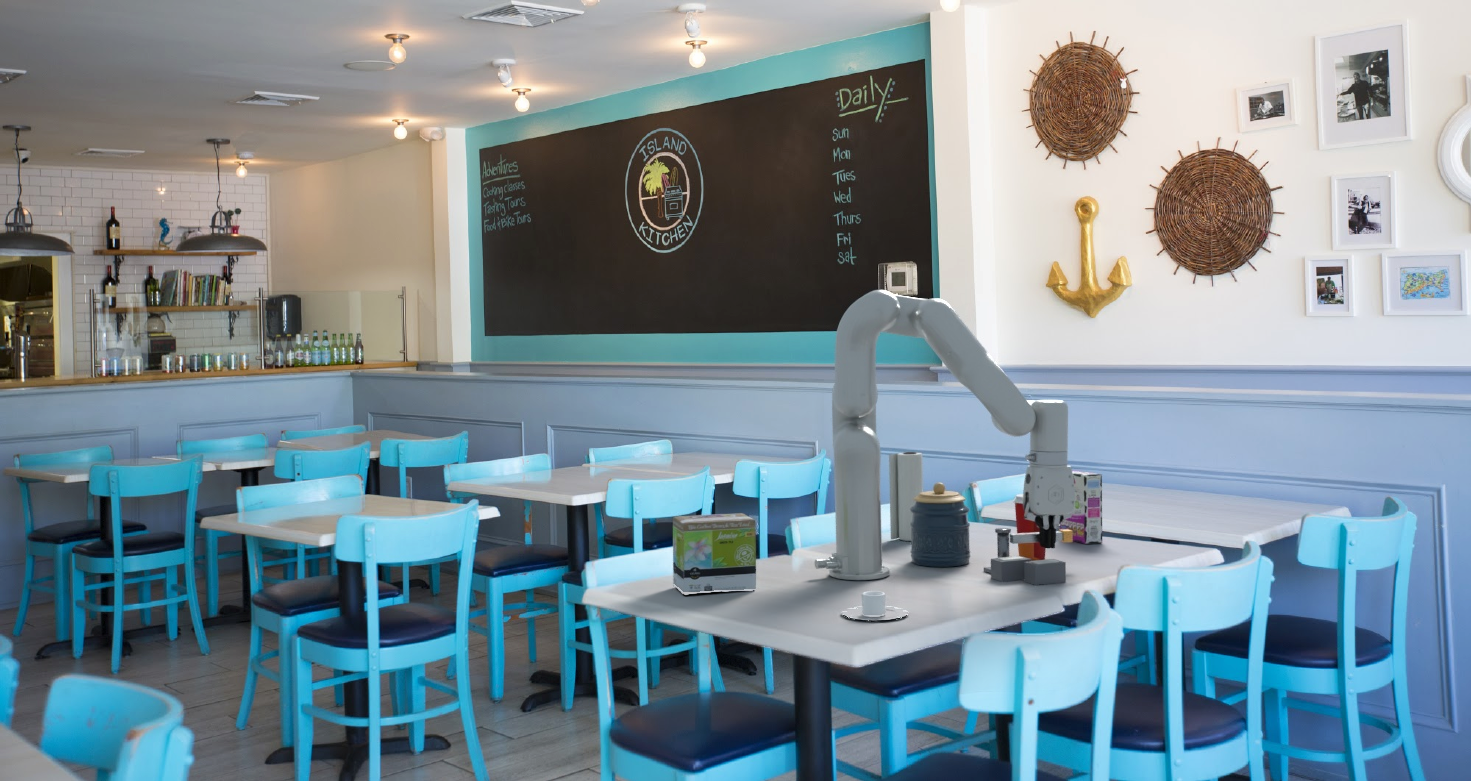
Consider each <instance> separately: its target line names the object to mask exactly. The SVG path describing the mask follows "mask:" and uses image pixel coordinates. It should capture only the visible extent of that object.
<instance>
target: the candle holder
mask: <svg viewBox="0 0 1471 781" xmlns="http://www.w3.org/2000/svg"><path fill="white" fill-rule="evenodd" d="M853 607H854V608H852V607H849V608H847V609H856V608H857V607H862V611H861V614H862V613H863V614H864V615H882V614H885V613H886V614H887V612H886V611H887V610H886V607H894V608H895V609H903V607H902V608H901V607H897V606H890V605H886V593H885V592H884V591H879V590H868V591H863V592H862V594H861V605H859V606H853ZM857 609H858V608H857ZM842 612H847V611H843V610H842V611H841V613H842ZM903 612H908V613H909V611H908V610H906V609H905V610H903ZM841 615H842V616H843V615H844V614H841ZM905 615H907V616H909V614H905ZM847 617H848V616H847ZM847 617H846V618H847ZM897 617H898V616H897ZM850 618H853V617H850ZM850 618H849V617H848V618H847V619H850ZM898 618H900V617H898ZM900 619H903V618H902V617H901V618H900ZM867 622H870V621H869V620H868V621H867Z"/></svg>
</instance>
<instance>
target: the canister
mask: <svg viewBox="0 0 1471 781" xmlns="http://www.w3.org/2000/svg"><path fill="white" fill-rule="evenodd" d="M914 501H916V503H915V505H914V506H913V507H911V508H910V511H911V512H912V522H911V523H910V526H911V541H910V547H911V549H910V557H911V563H913V564H914V565H917V566H923V567H931V568H949V567H959V566H964V565H965V566H966V565H967V564H969V563H970V560H971V559H970V558H971V548H970V526H971V524H970V522H969V520H968V513H969V512H970V510H971V509H970V507H968V506H967V505H966V504H965V503H964V502H965V501H966V497H965V496H963V495H962V494H960V492H957V491H953V490H946V486H945V484H944V483H942V482H936V483H935V484H934V485H933V487H932V490H926V491H923V492H921V493H920V494H919V495H918V496H916V497H915V498H914Z"/></svg>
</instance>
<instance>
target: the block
mask: <svg viewBox="0 0 1471 781" xmlns="http://www.w3.org/2000/svg"><path fill="white" fill-rule="evenodd" d="M1029 561H1031V559H1029V558H1026V557H1022V556H1019V555H1014V556H1013V555H1012V556H1009V557H1001V558H998V557H995V558H990V567H991V573H990V579H992V580H995V581H999V582H1001V583H1002V582H1003V583H1005V582H1011V581H1012V582H1013V581H1021V580H1022V581H1023V580H1024V562H1029Z"/></svg>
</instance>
